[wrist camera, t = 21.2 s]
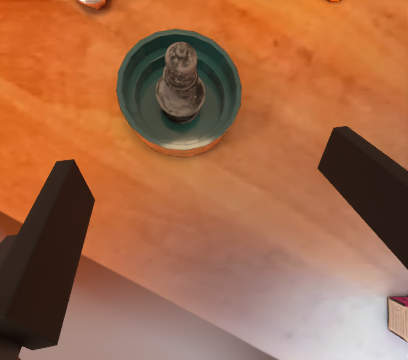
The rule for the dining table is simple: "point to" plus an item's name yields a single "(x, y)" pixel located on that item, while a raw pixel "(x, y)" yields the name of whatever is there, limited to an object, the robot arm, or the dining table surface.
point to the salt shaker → (180, 84)
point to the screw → (93, 3)
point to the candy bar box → (398, 316)
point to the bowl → (151, 110)
